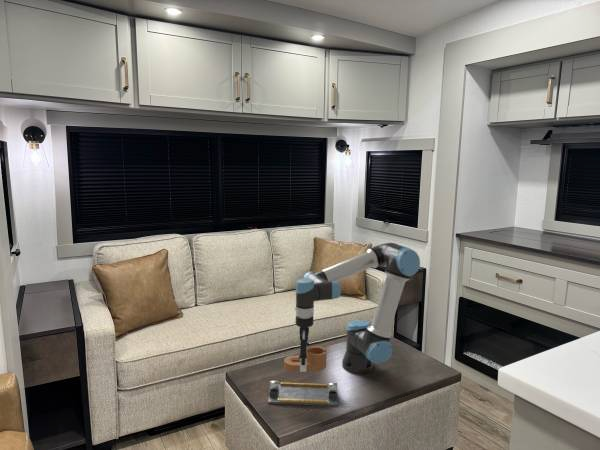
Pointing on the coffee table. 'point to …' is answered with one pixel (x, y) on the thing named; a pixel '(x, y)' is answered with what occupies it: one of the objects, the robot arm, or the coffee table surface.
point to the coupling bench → (303, 394)
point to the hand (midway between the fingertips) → (303, 365)
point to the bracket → (308, 360)
